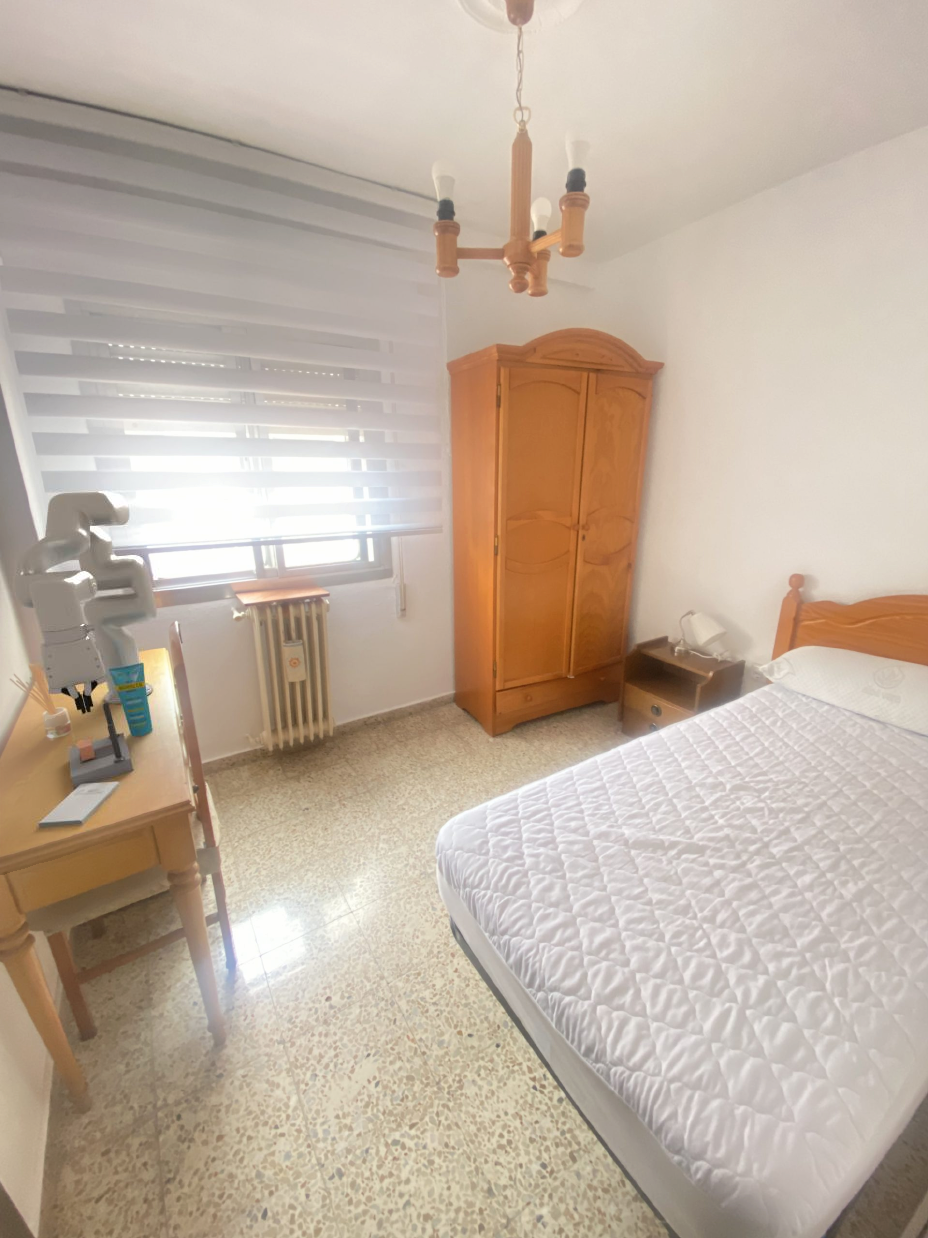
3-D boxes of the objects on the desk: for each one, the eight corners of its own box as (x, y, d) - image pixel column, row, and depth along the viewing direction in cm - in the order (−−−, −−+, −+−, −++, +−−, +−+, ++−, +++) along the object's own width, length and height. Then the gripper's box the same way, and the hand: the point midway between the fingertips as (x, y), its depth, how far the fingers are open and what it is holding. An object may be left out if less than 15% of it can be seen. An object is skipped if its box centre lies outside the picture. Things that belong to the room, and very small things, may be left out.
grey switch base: (72, 758, 119) (68, 747, 118) (125, 742, 125) (123, 731, 124) (74, 790, 107) (70, 777, 106) (133, 770, 114) (130, 758, 113)
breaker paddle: (81, 753, 115) (77, 741, 114) (94, 749, 116) (90, 738, 115) (82, 761, 112) (78, 749, 111) (95, 757, 113) (91, 745, 112)
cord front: (115, 756, 112) (106, 724, 110) (121, 754, 113) (113, 722, 110) (116, 759, 111) (107, 726, 109) (122, 757, 112) (113, 724, 110)
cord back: (110, 733, 122) (102, 703, 120) (115, 731, 123) (107, 701, 120) (110, 735, 121) (102, 704, 119) (116, 733, 122) (108, 703, 120)
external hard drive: (39, 829, 96) (81, 789, 108) (83, 826, 97) (120, 787, 109) (37, 823, 96) (79, 783, 108) (81, 820, 96) (118, 780, 108)
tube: (125, 740, 126) (107, 671, 121) (125, 732, 130) (108, 665, 124) (159, 731, 130) (143, 664, 124) (158, 724, 134) (142, 659, 128)
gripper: (105, 623, 114) (123, 696, 119) (20, 638, 105) (44, 715, 110) (108, 631, 108) (127, 706, 113) (19, 647, 99) (43, 728, 104)
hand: (86, 711), depth 112 cm, fingers closed
